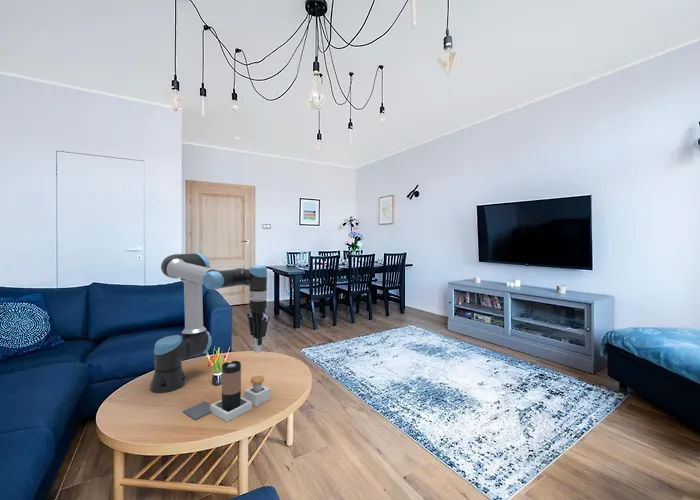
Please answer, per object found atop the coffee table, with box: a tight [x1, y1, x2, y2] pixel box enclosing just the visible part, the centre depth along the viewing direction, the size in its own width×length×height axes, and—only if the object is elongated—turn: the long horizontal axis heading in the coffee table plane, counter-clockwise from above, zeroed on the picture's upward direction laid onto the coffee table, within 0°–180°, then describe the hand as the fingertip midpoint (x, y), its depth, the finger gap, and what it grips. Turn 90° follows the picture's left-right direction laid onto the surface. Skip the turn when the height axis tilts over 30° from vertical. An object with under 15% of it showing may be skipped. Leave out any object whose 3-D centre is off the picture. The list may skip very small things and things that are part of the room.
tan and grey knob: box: [250, 375, 265, 393], centre depth 141 cm, size 6×6×8 cm
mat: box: [182, 400, 212, 421], centre depth 132 cm, size 10×10×1 cm
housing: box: [243, 384, 271, 407], centre depth 141 cm, size 8×8×5 cm
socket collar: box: [210, 396, 253, 423], centre depth 133 cm, size 12×12×3 cm
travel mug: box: [221, 360, 242, 412], centre depth 132 cm, size 8×8×20 cm
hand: (257, 351), depth 141 cm, fingers closed
